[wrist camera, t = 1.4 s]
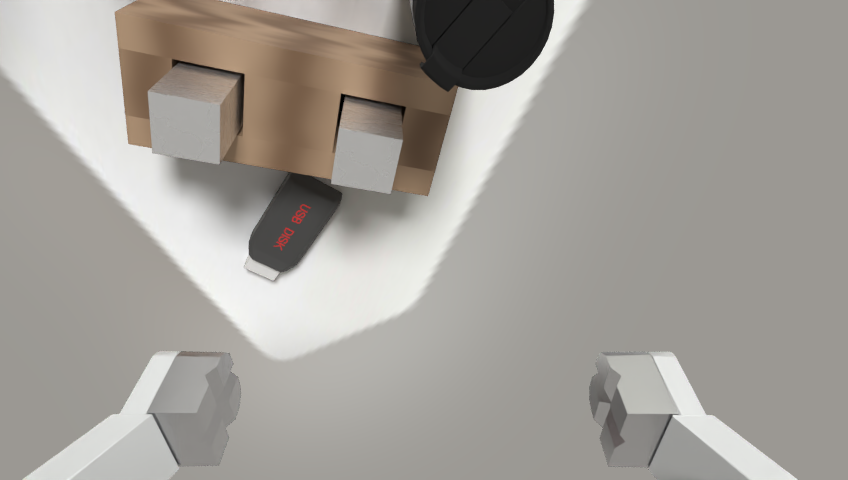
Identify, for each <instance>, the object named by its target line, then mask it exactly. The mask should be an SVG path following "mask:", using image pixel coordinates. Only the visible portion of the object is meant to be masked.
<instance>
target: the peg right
mask: <svg viewBox="0 0 848 480" xmlns="http://www.w3.org/2000/svg"><path fill="white" fill-rule="evenodd" d="M402 142H403V132H402V113H401V106H400V105H395V104H390V103H386V102H381V101H376V100H371V99H366V98H361V97H356V96H351V95H346V94H345V100H344V105H343V110H342V115H341V120H340V126H339V132H338V138H337V145H336V152H335V159H334V166H333V172H332V179H331V184H335V185H340V186H346V187H352V188H358V189H364V190H369V191H375V192H381V193H387V194H391V191H392V186H393V182H394V177H395V173H396V169H397V164H398V160H399V155H400V151H401V146H402Z"/></svg>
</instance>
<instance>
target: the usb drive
mask: <svg viewBox="0 0 848 480" xmlns="http://www.w3.org/2000/svg"><path fill="white" fill-rule="evenodd" d="M341 198H342V193H341V192H339V191H337V190H335V189H333V188H332V187H330V186H328V185H326V184H324V183H322V182H321V181H319V180H317V179H315V178H313V177H311V176H310V175H304V174H298V173H293V172H289V174H288V176H287V177H286V179H285V180H284V182H283V183H282V185H281V187H280V188H279V190H278V191H277V193H276V195H275V196H274V198H273V199H272V201H271V203H270V204H269V206H268V207H267V209H266V211H265V212H264V214H263V215H262V217H261V219H260V220H259V222H258V223H257V225H256V226H255V228H254V230H253V232H252V234H251V237H250V240H249V256H248V257H247V260H246V263H245V265H244V268H246V269H248V270H250V271H252V272H255V273H257V274H259V275H261V276H264V277H266V278H268V279H270V280H273V281H274V280H275V279H276V277H277V276H278V274H279V273H280V272H285V271H287V270H289V269H290V268H292V267H294V266H295V265H297V263H298V262H299V261H300V259H301V258H302V257H303V255H304V254H305V252H306V251H307V250H308V248H309V247H310V245H311V244H312V243H313V241H314V240H315V238H316V237H317V236H318V234H319V233H320V231H321V230H322V229H323V227H324V226H325V224H326V223H327V222H328V220H329V219H330V217H331V216H332V215H333V213H334V212H335V210H336V209H337V207H338V206H339V204H340V201H341Z"/></svg>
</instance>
